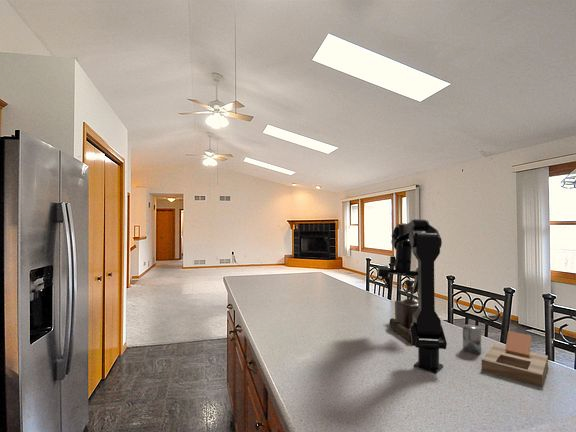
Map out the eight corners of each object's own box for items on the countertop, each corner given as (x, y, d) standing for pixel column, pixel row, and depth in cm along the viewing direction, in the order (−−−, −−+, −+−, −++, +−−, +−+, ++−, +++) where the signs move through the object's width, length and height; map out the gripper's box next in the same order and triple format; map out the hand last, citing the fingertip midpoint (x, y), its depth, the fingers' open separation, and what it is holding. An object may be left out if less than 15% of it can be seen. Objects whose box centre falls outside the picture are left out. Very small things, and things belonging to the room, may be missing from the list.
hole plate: (542, 386, 86) (542, 375, 86) (481, 370, 95) (481, 359, 95) (548, 365, 99) (547, 355, 99) (494, 353, 108) (494, 344, 108)
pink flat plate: (529, 356, 98) (529, 354, 97) (505, 351, 102) (505, 349, 101) (531, 337, 102) (531, 335, 101) (508, 333, 106) (508, 331, 105)
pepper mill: (431, 328, 134) (431, 284, 135) (407, 329, 132) (407, 285, 133) (410, 317, 150) (410, 278, 150) (388, 318, 147) (388, 278, 148)
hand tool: (420, 344, 116) (420, 331, 116) (409, 344, 115) (409, 331, 116) (396, 328, 135) (396, 317, 135) (387, 328, 134) (387, 317, 134)
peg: (479, 355, 106) (479, 330, 107) (460, 350, 110) (460, 326, 110) (483, 350, 110) (483, 327, 111) (465, 346, 114) (465, 323, 114)
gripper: (425, 251, 133) (422, 286, 136) (378, 248, 137) (376, 283, 140) (430, 259, 123) (427, 298, 126) (379, 256, 127) (377, 294, 130)
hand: (401, 292), depth 131 cm, fingers open, 9 cm apart
